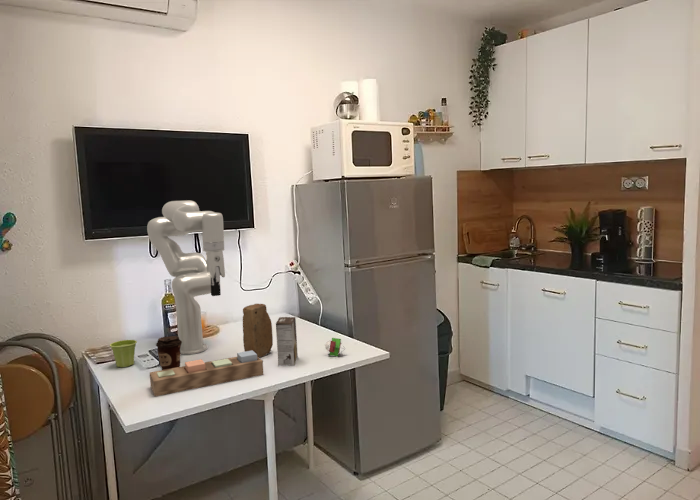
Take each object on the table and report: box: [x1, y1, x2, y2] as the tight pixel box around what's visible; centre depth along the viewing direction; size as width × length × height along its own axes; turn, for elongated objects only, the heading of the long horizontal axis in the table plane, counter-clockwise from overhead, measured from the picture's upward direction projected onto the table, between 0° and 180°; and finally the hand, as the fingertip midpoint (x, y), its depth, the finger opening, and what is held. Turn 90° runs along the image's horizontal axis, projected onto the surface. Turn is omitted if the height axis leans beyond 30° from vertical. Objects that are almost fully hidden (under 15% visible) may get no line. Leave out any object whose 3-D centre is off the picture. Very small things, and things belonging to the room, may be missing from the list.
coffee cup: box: [155, 335, 182, 370], centre depth 188 cm, size 9×8×13 cm
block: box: [242, 303, 274, 358], centre depth 206 cm, size 11×8×20 cm
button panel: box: [149, 356, 264, 397], centre depth 180 cm, size 36×10×5 cm, turn 118°
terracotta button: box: [184, 359, 206, 373], centre depth 177 cm, size 6×6×4 cm
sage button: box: [211, 358, 232, 368], centre depth 182 cm, size 6×6×4 cm
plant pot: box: [109, 339, 137, 368], centre depth 200 cm, size 9×9×9 cm
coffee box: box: [275, 316, 299, 367], centre depth 196 cm, size 9×6×16 cm
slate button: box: [236, 350, 257, 363], centre depth 186 cm, size 6×6×4 cm
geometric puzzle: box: [324, 337, 346, 357], centre depth 202 cm, size 7×7×8 cm
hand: (215, 295), depth 195 cm, fingers closed
